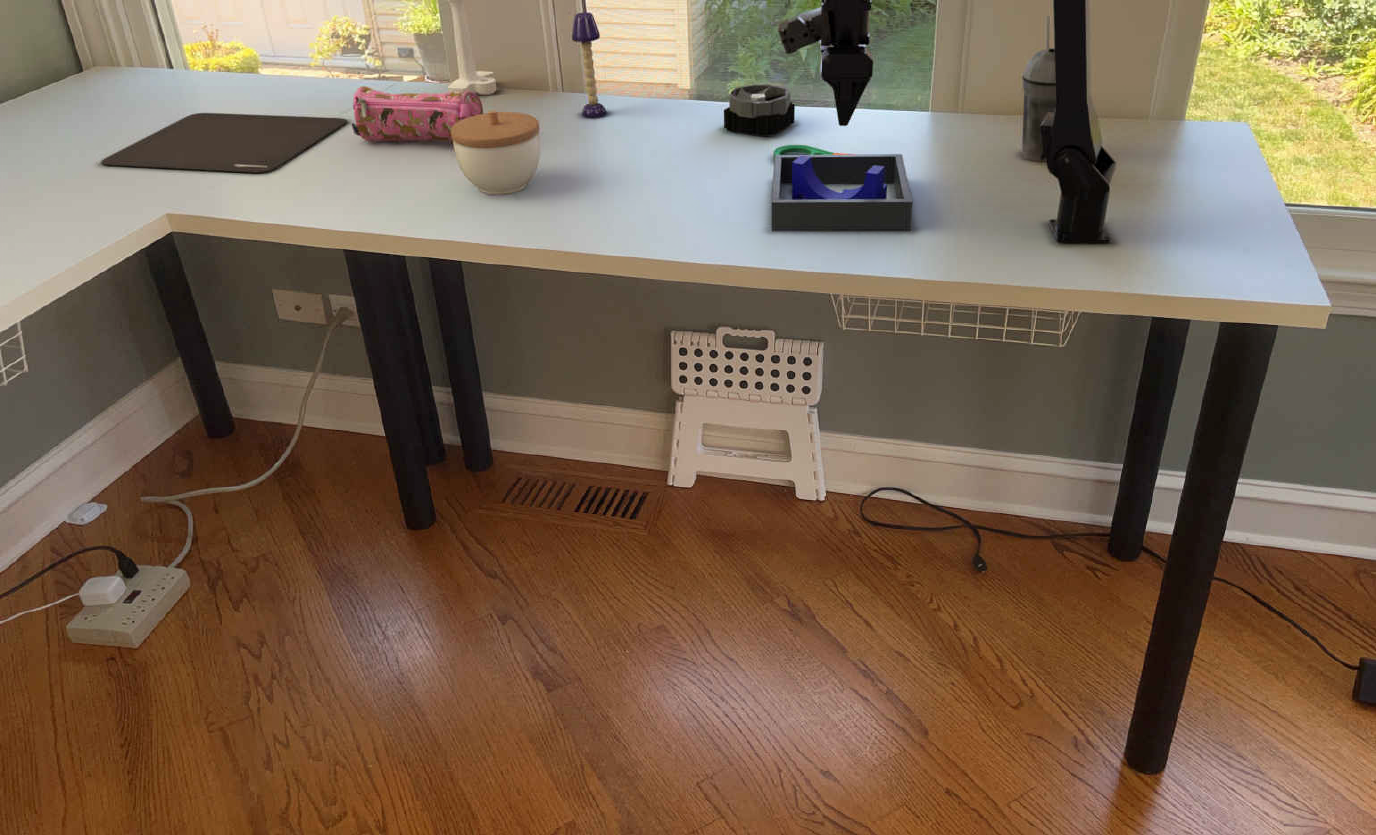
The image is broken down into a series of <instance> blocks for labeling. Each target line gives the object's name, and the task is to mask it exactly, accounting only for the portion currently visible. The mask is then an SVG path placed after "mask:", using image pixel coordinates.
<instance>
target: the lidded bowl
mask: <svg viewBox="0 0 1376 835" xmlns="http://www.w3.org/2000/svg"><path fill="white" fill-rule="evenodd" d="M451 137H452V139H453V148H454V154H455V157H456V161H457V163H458V165H459V168H460V170H461V172H462V174H463V175H464V177H465V178H466V179H467V180H468V181H469V182H470V183H471V184H472V185H473V186H476V187H477V189H478V190H479V191H480V192H481V193H483V194H488V195H507V194H513V193H517V192H520V191H521V190H523V189H525V188H526V187H527V186H528V182H529V181H530V180H531V179H532V177H533V176H534V174H535V173H536V171H537V169H538V167H539V163H540V157H541V137H540V122H539V120H538V119H537V118H536V117H534V116H533V115H531V114H527V113H522V112H516V111H515V112H514V111H498V110H489V111H488V113H483V114H480V115H475V116H472V117H468V118H465V119H463V120H461V121H459V122H457V123H455V124H454V125H453V126H452V128H451Z"/></svg>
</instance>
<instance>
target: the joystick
mask: <svg viewBox="0 0 1376 835" xmlns="http://www.w3.org/2000/svg"><path fill="white" fill-rule="evenodd" d="M446 1H447V2H448V3H449V5H450V7H451V13H452V14H451V15H452V22H453V23H452V24H453V32H454V41H455V48H456V49H455V50H456V59H457V68H458V70H457V71H458V78H457V79H456V80H454V81H452V82H451V83H450V84H449V85H448V86H447V88H448V90H447V91H448V93H450V92H458V93H461V92H463V91H466V90H467V91H471V92H473V93H475V94H477V95H478V96H491V95H493V94H495V92H496V91H497V83H496V79H495V75H494V71H485V72H484V71H482V70H477V69H476V63H475V58H474V53H473V48H472V42H471V37H470V31H469V26H468V21H467V20H468V19H467V14H466V9H465V3H466V1H467V0H446Z"/></svg>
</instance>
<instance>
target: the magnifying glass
mask: <svg viewBox="0 0 1376 835" xmlns="http://www.w3.org/2000/svg"><path fill="white" fill-rule="evenodd" d="M794 153H795V154H796V153H798V154H800V153H801V154H806V155H859V154H856V153H846V152H845V153H843V152H833V151H829V150H824V149H821V148H818V147H814V146H811V145H806V144H787V145H782V146H778V147H776V148H775V149H774V150H773V157H774V156H775V155H787V154H794Z"/></svg>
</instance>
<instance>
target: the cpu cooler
mask: <svg viewBox="0 0 1376 835" xmlns="http://www.w3.org/2000/svg"><path fill="white" fill-rule="evenodd" d="M795 107H796V106H795V104H794V103H793V101H791V91H790V90H789V89H788V88H786V87H784V86H781V85H775V84H761V83H760V84H757V83H756V84H750V85H743V86H737V87H734V89H733V90H731V91H730V92H729V106H728V107H726V108H725V109H723V128H724V129H725V130H726V131H727V132H733V133H739V134H745V135H752V136H753V135H754V136H759V137H768V136H772V137H774V136H776V135H777V134H779V133H781V132H782V131H784V130H785V129H787V128H789V127H790V126H792V125H793V124H795V112H796V111H795V109H796V108H795Z"/></svg>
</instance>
